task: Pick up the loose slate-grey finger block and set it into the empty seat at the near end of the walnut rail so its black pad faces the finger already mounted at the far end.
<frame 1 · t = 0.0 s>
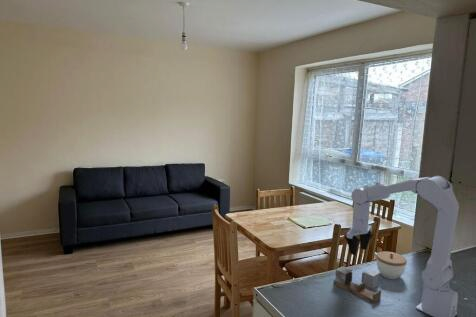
hand: (358, 251, 125), 10 cm above the kitchen counter, fingers open, 7 cm apart
lidded jar: (389, 275, 127), on the kitchen counter
rail: (356, 290, 116), on the kitchen counter
finger block: (370, 285, 120), on the kitchen counter
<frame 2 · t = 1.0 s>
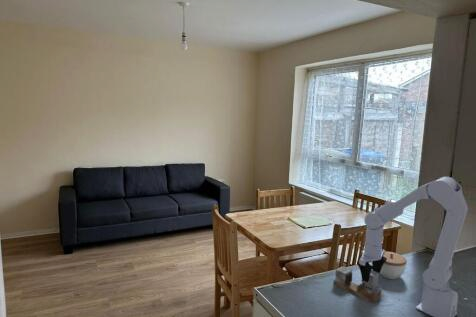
hand: (370, 277, 120), 3 cm above the kitchen counter, fingers open, 7 cm apart
nothing on the kitchen counter moved.
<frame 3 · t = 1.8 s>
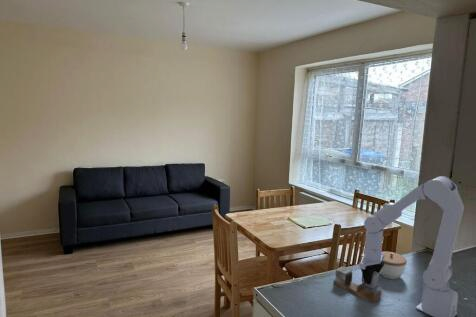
hand: (370, 281, 120), 1 cm above the kitchen counter, fingers closed on finger block, 4 cm apart
finger block: (370, 284, 120), on the kitchen counter, touching gripper
everything else where it was.
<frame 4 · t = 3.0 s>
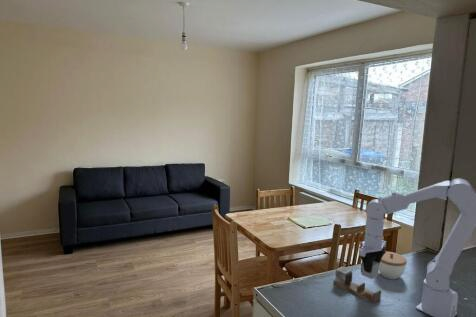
hand: (371, 269, 114), 8 cm above the kitchen counter, fingers closed on finger block, 4 cm apart
finger block: (369, 275, 115), point 6 cm above the kitchen counter, touching gripper
everything else where it was.
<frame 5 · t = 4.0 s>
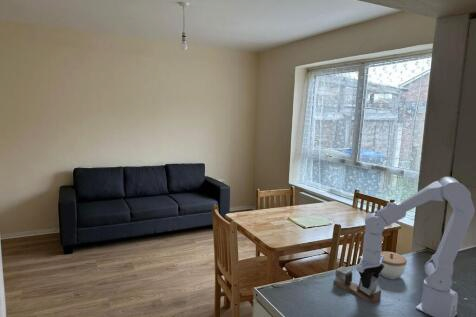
hand: (369, 285, 112), 4 cm above the kitchen counter, fingers closed on finger block, 4 cm apart
finger block: (367, 290, 112), point 2 cm above the kitchen counter, tilted 7°, touching gripper, rail
everything else where it was.
when the fingers open (4 cm above the kitchen counter, at t = 4.4 s): finger block stays where it is, resting on rail.
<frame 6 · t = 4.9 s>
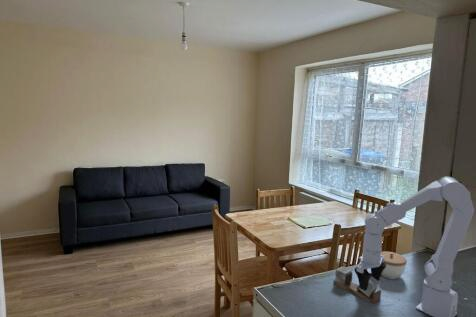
hand: (369, 285, 112), 4 cm above the kitchen counter, fingers open, 7 cm apart
finger block: (366, 291, 113), point 2 cm above the kitchen counter, tilted 18°, touching rail
everything else where it was.
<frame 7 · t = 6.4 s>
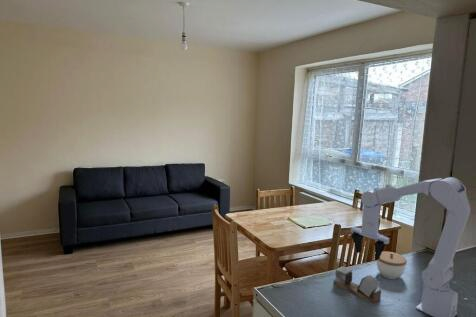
hand: (367, 255, 122), 10 cm above the kitchen counter, fingers open, 7 cm apart
nothing on the kitchen counter moved.
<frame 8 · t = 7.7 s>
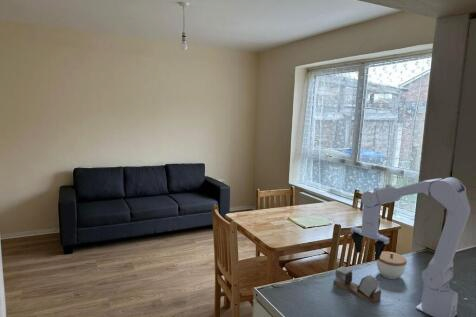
hand: (367, 255, 122), 10 cm above the kitchen counter, fingers open, 7 cm apart
nothing on the kitchen counter moved.
at the end: finger block 0.8 cm from the target spot on the rail, point 1.8 cm above the rail's base; finger block tilted 18°; the gripper is holding nothing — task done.
